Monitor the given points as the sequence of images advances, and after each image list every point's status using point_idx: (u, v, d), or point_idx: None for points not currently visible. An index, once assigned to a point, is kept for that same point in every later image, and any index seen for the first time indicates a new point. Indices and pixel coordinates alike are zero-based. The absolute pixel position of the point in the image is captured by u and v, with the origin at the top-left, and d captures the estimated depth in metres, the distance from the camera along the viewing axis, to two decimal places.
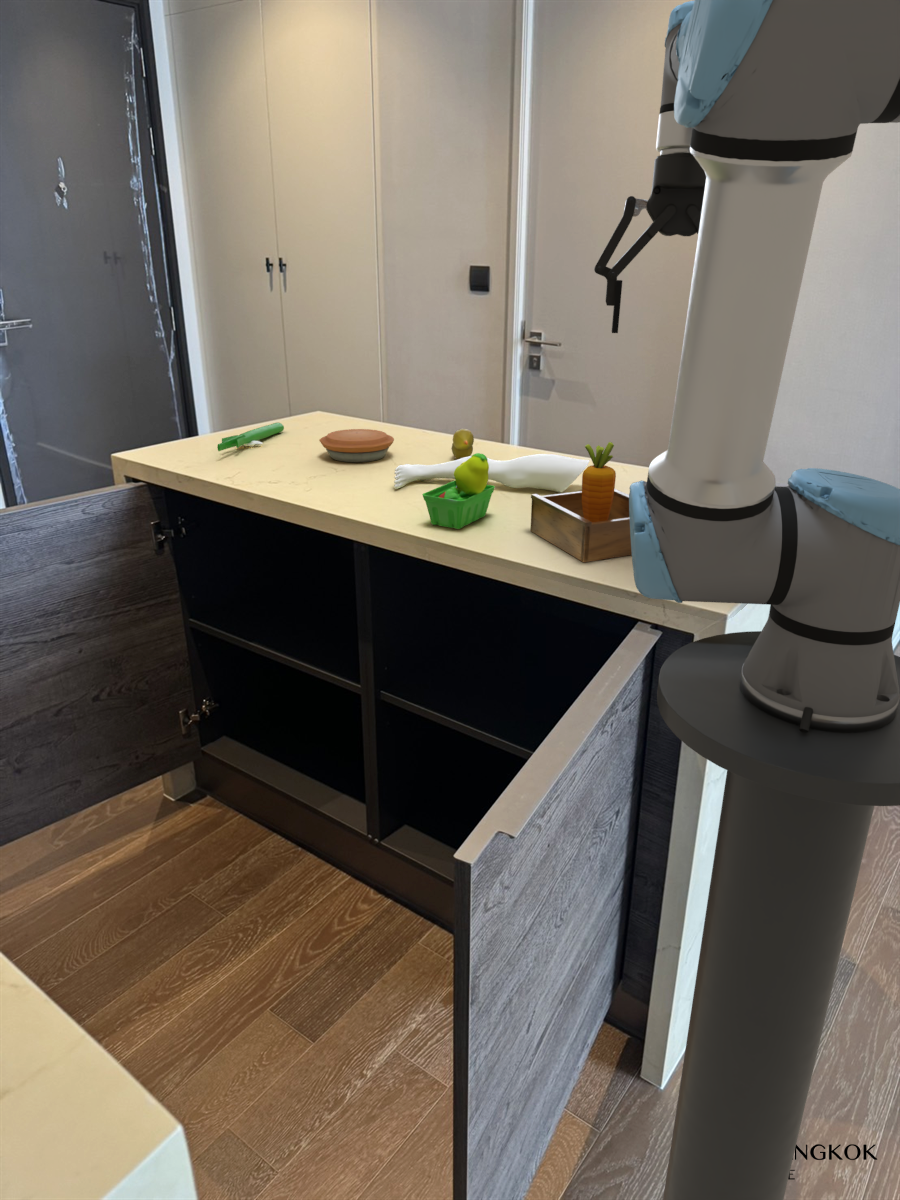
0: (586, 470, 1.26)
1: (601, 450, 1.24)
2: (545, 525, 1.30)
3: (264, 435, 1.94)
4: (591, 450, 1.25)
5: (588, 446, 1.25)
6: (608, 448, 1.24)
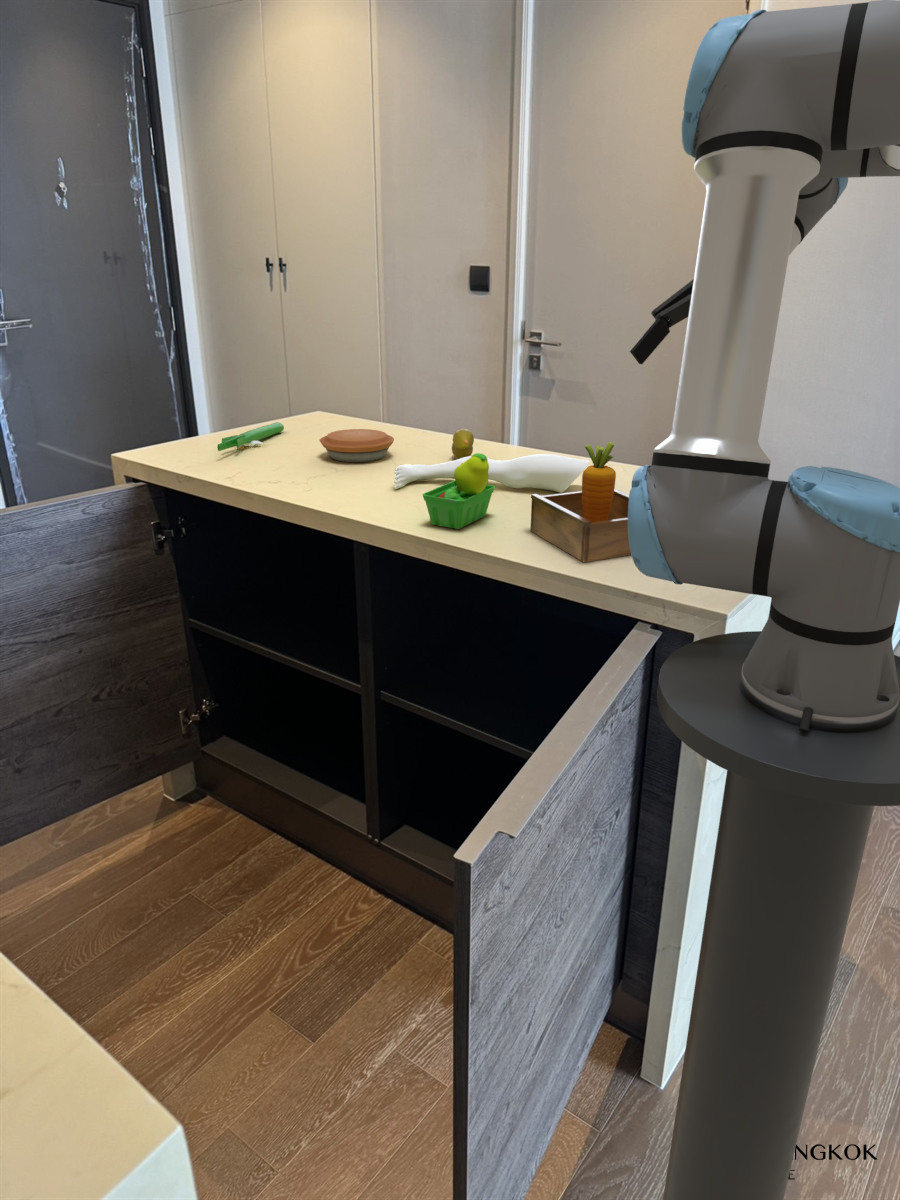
0: (586, 470, 1.26)
1: (601, 450, 1.24)
2: (545, 525, 1.30)
3: (264, 435, 1.94)
4: (591, 450, 1.25)
5: (588, 446, 1.25)
6: (608, 448, 1.24)
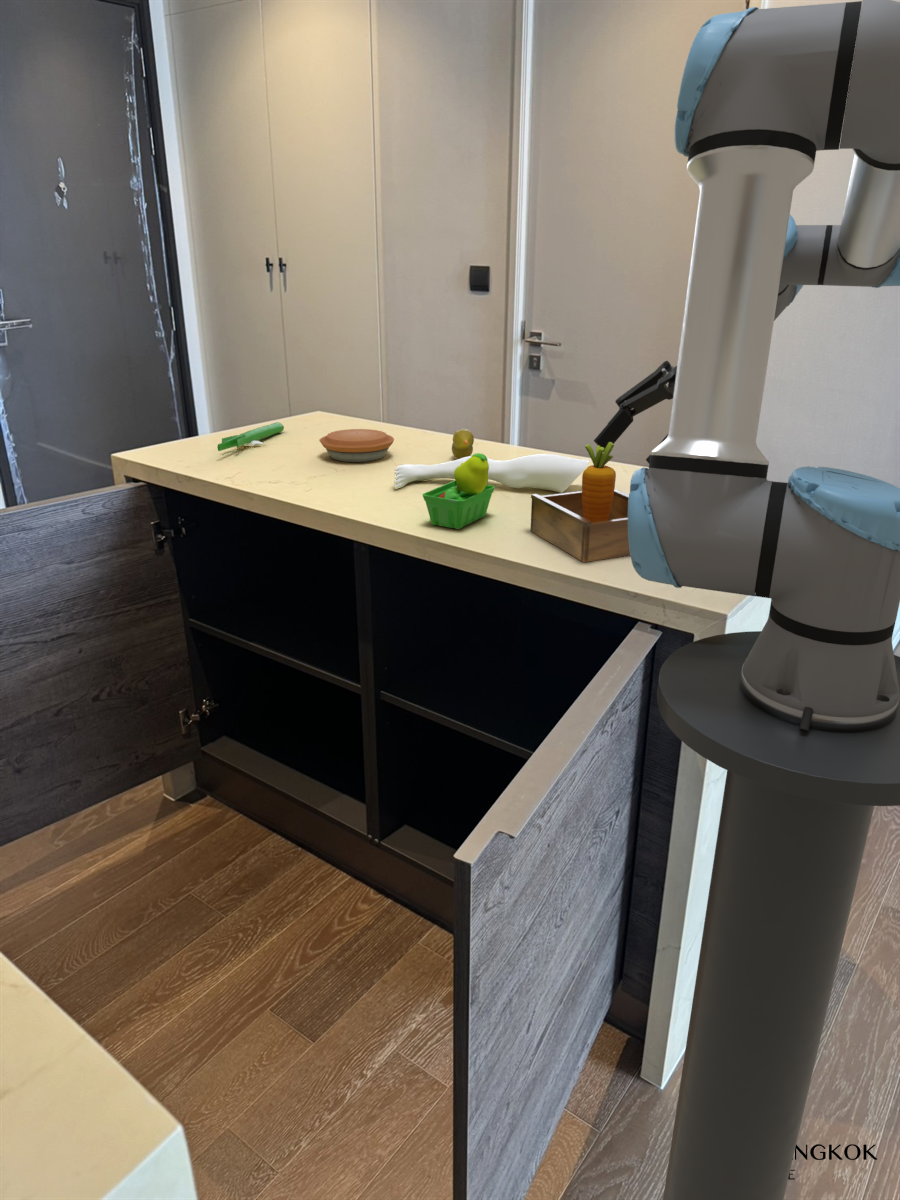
0: (586, 470, 1.26)
1: (601, 450, 1.24)
2: (545, 525, 1.30)
3: (264, 435, 1.94)
4: (591, 450, 1.25)
5: (588, 446, 1.25)
6: (608, 448, 1.24)
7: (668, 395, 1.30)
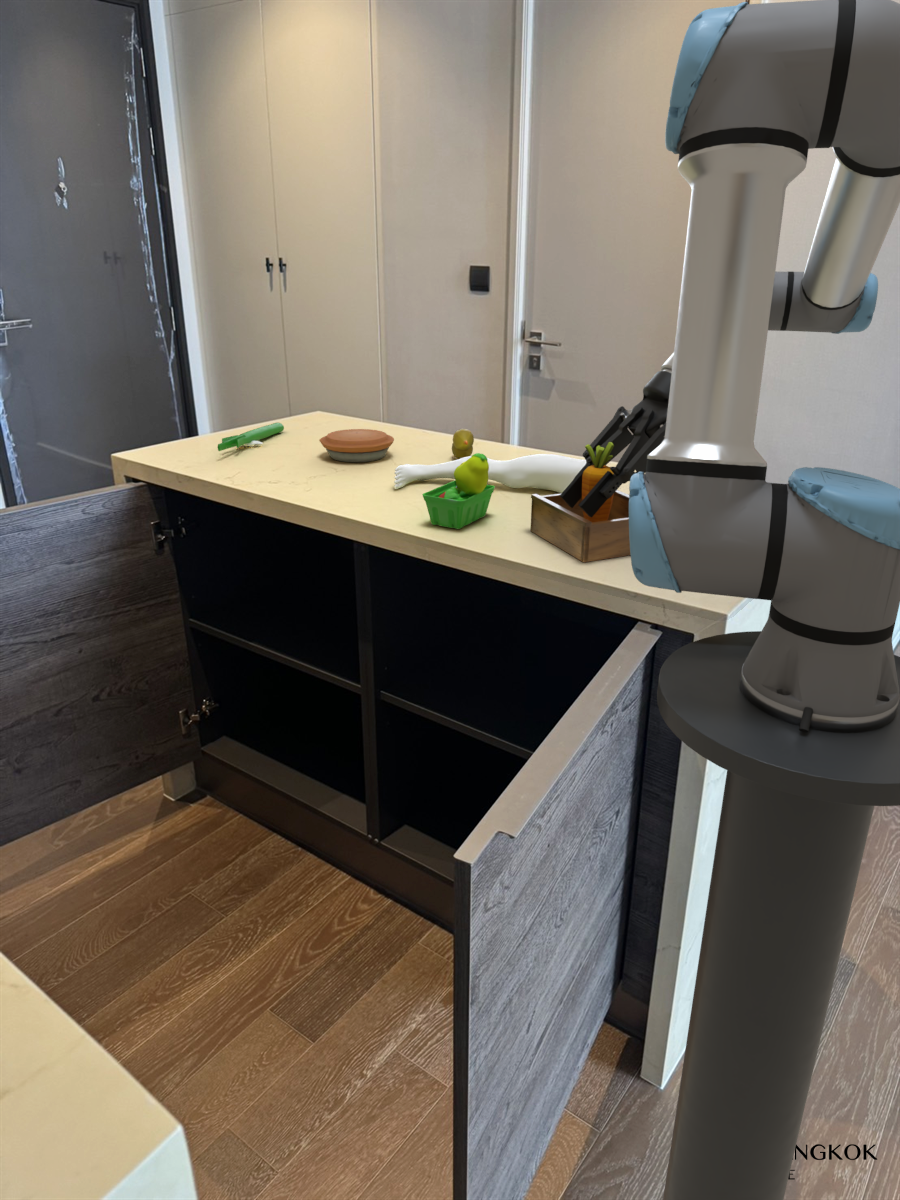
0: (586, 470, 1.26)
1: (601, 450, 1.24)
2: (545, 525, 1.30)
3: (264, 435, 1.94)
4: (591, 450, 1.25)
5: (588, 446, 1.25)
6: (608, 448, 1.24)
7: (632, 438, 1.28)
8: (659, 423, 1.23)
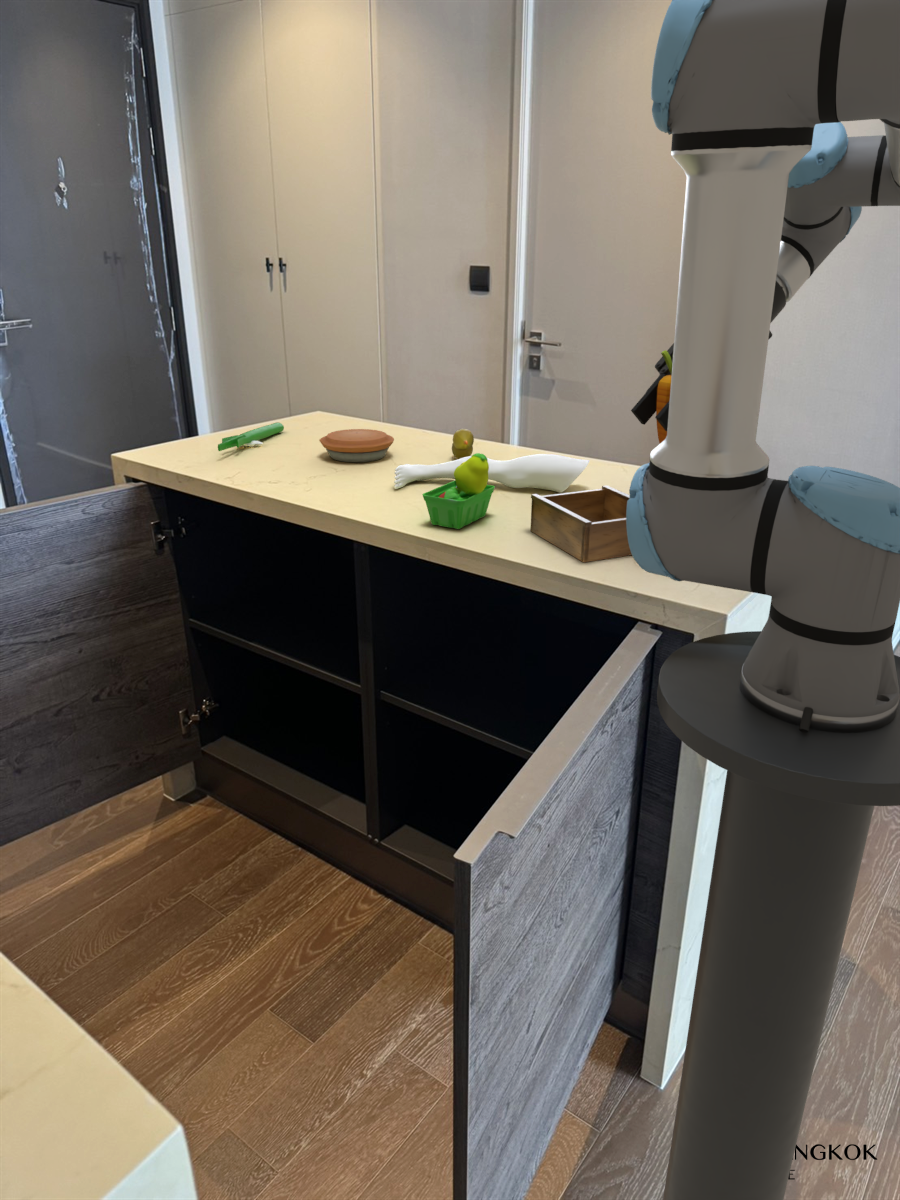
0: (662, 379, 1.13)
1: None
2: (545, 525, 1.30)
3: (264, 435, 1.94)
4: (668, 357, 1.12)
5: (665, 352, 1.12)
6: None
7: None
8: None
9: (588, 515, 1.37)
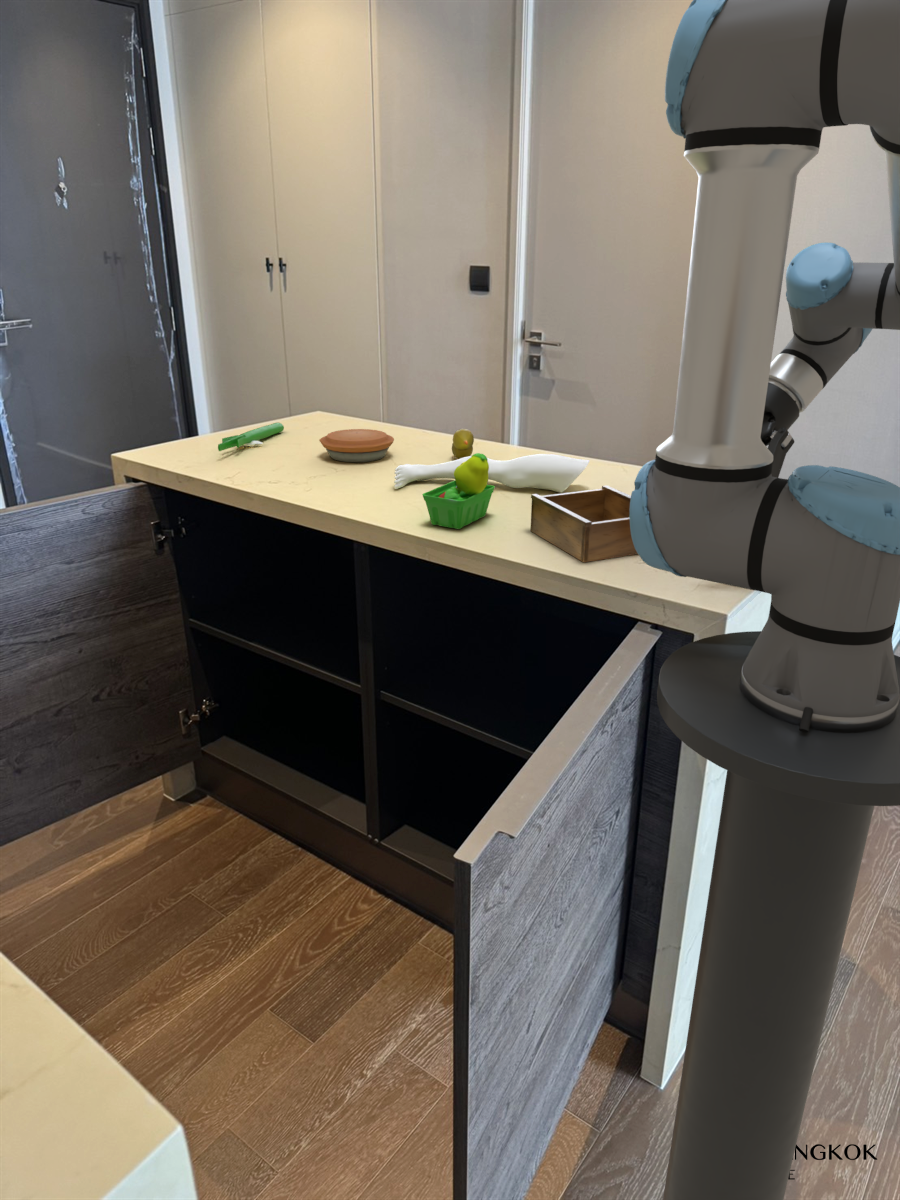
0: None
1: None
2: (545, 525, 1.30)
3: (264, 435, 1.94)
4: None
5: None
6: None
7: None
8: (760, 438, 1.13)
9: (588, 515, 1.37)
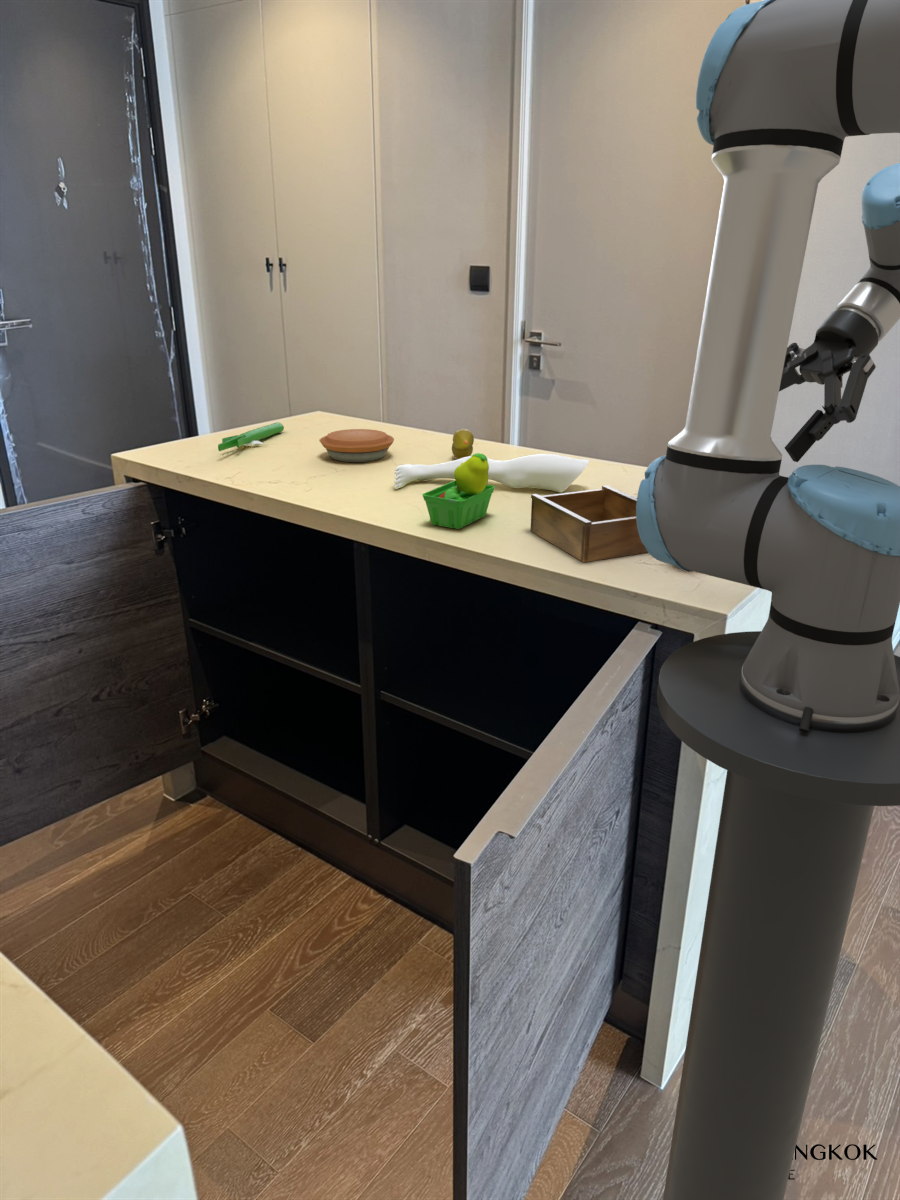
0: None
1: None
2: (545, 525, 1.30)
3: (264, 435, 1.94)
4: None
5: None
6: None
7: (798, 379, 1.20)
8: (840, 365, 1.14)
9: (588, 515, 1.37)
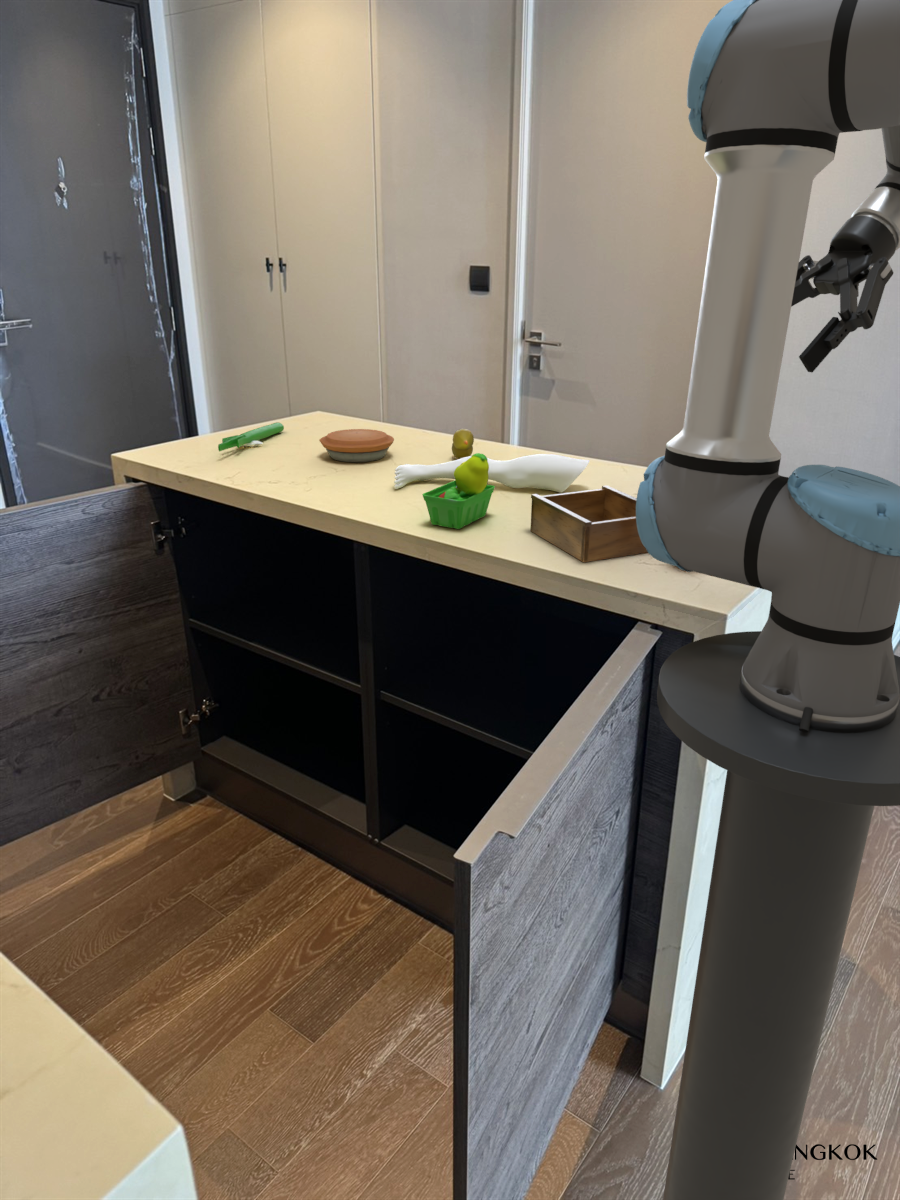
0: None
1: None
2: (545, 525, 1.30)
3: (264, 435, 1.94)
4: None
5: None
6: None
7: (812, 292, 1.16)
8: (856, 272, 1.09)
9: (588, 515, 1.37)
